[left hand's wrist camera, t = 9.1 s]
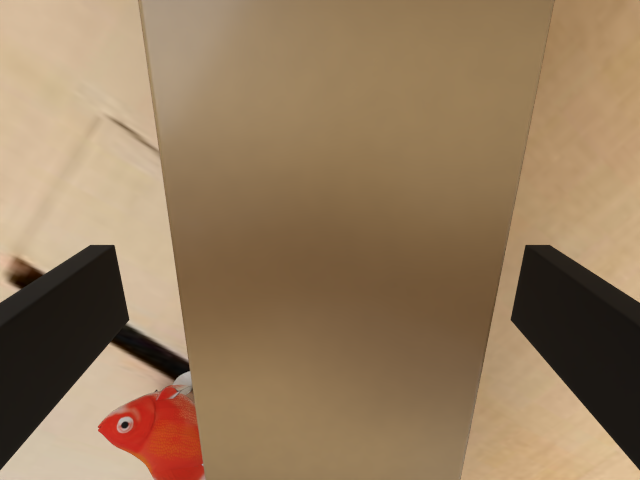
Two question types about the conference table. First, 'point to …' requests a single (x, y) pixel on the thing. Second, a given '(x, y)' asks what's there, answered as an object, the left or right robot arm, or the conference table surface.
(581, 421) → the conference table surface
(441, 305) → the bar
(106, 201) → the conference table surface
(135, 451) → the fish
